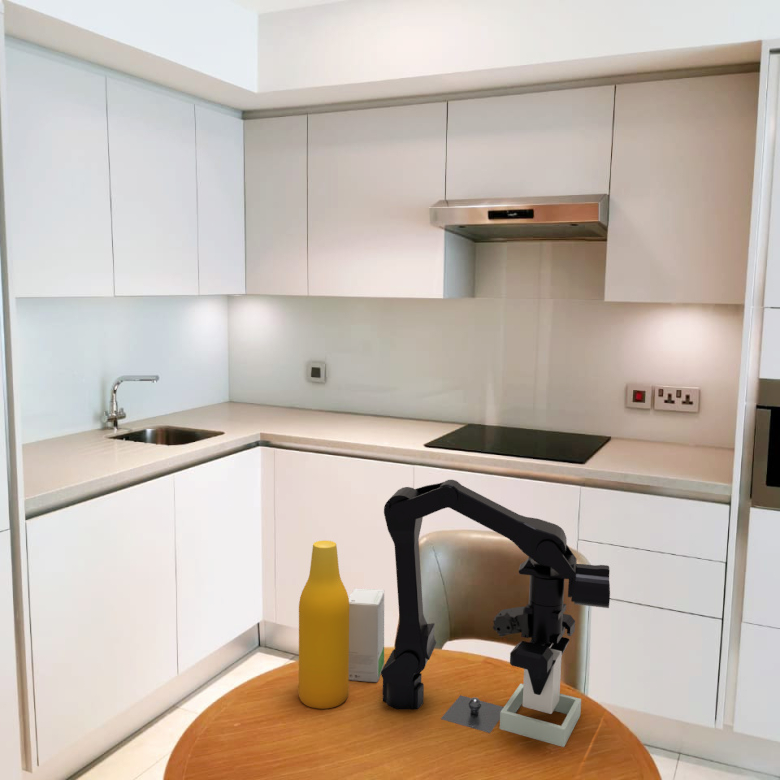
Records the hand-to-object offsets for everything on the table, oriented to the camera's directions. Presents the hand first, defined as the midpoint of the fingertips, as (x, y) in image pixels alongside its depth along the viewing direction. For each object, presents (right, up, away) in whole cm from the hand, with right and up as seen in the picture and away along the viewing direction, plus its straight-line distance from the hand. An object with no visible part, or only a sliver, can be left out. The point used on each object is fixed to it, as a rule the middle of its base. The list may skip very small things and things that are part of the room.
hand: (541, 687), depth 135 cm
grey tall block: (0, -3, 0) cm, 3 cm away
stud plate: (-11, -7, +3) cm, 13 cm away
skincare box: (-31, -5, +19) cm, 37 cm away
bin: (0, -7, +1) cm, 7 cm away
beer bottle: (-38, -6, +10) cm, 40 cm away
